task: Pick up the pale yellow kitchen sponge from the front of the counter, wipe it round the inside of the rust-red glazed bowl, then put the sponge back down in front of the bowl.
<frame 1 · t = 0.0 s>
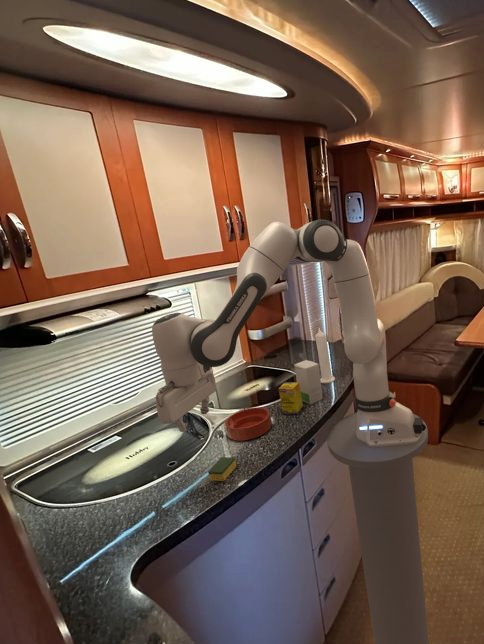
hand: (195, 421, 103), 19 cm above the worktop, tool pointing down, fingers open, 8 cm apart
sponge: (223, 473, 110), on the worktop
bowl: (250, 430, 133), on the worktop
supplement box: (293, 411, 144), on the worktop
candle: (327, 380, 169), on the worktop
cosmetic box: (311, 399, 152), on the worktop
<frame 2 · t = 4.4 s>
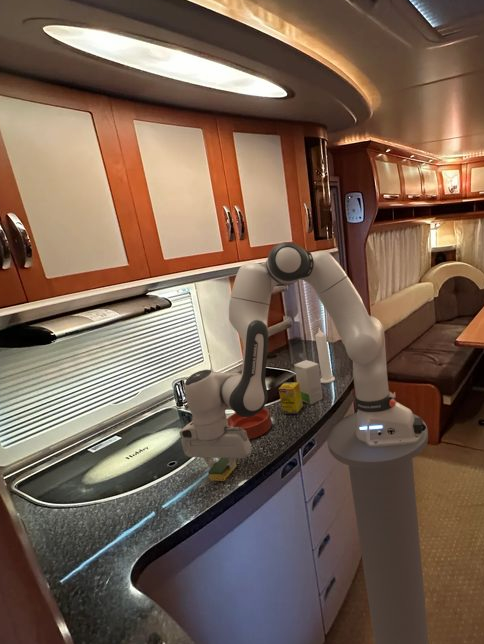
hand: (222, 468, 110), 2 cm above the worktop, tool pointing down, fingers closed on sponge, 4 cm apart
sponge: (223, 473, 110), on the worktop, touching gripper
everything else where it was.
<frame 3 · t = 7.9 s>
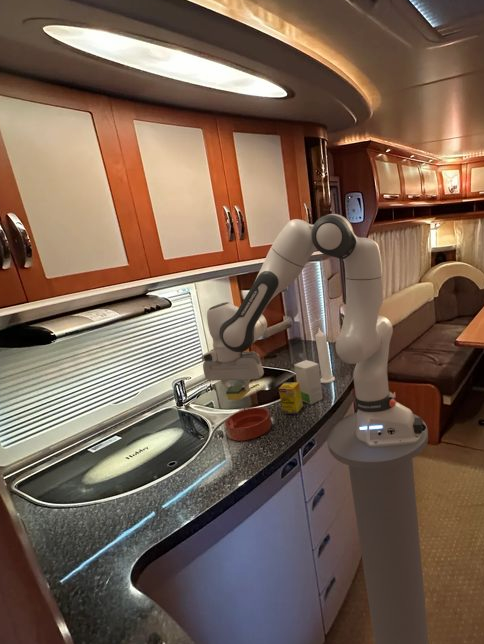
hand: (238, 390, 126), 16 cm above the worktop, tool pointing down, fingers closed on sponge, 4 cm apart
sponge: (239, 395, 127), point 15 cm above the worktop, touching gripper
everything else where it was.
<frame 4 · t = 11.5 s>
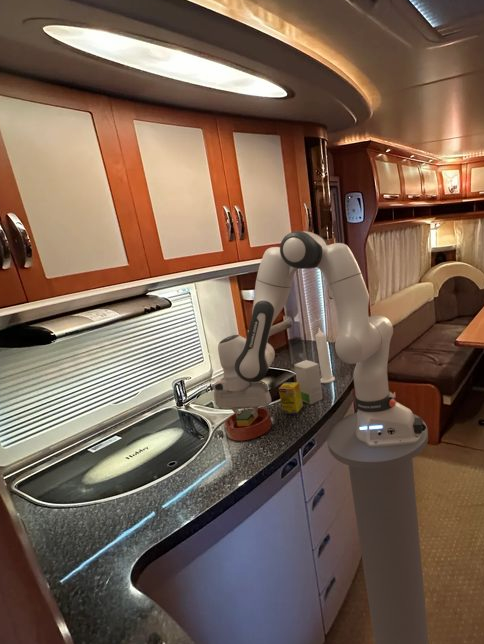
hand: (247, 417, 133), 5 cm above the worktop, tool pointing down, fingers closed on sponge, 4 cm apart
sponge: (248, 421, 134), point 3 cm above the worktop, touching gripper
everything else where it was.
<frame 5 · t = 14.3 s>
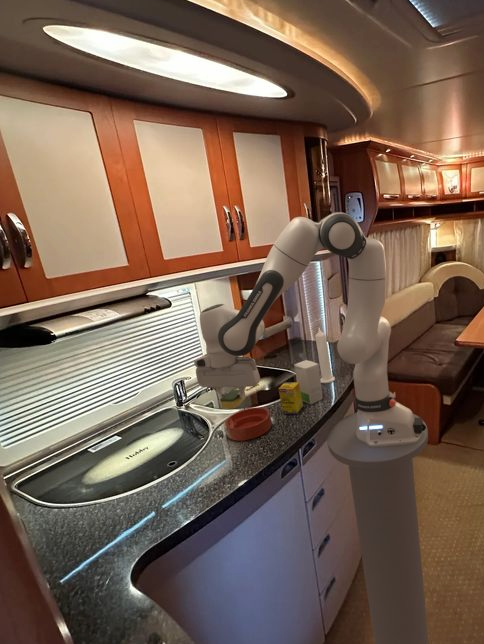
hand: (233, 398, 118), 17 cm above the worktop, tool pointing down, fingers closed on sponge, 4 cm apart
sponge: (234, 402, 119), point 16 cm above the worktop, touching gripper
everything else where it was.
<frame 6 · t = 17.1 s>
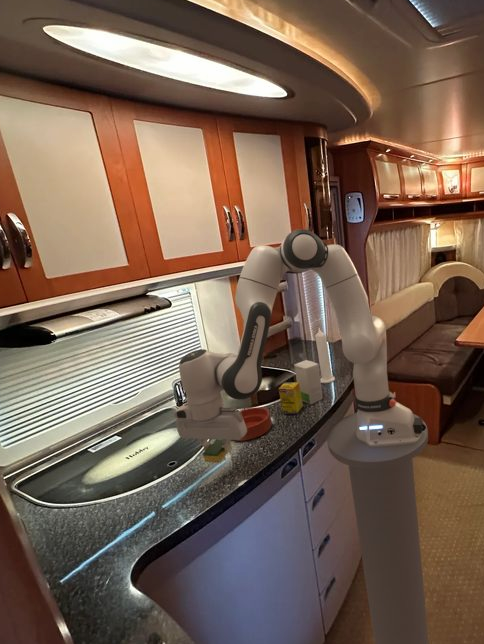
hand: (217, 450, 108), 8 cm above the worktop, tool pointing down, fingers closed on sponge, 4 cm apart
sponge: (218, 455, 108), point 6 cm above the worktop, touching gripper
everything else where it was.
when the fingers open (1 cm above the worktop, at t = 18.8 s): sponge stays where it is, on the worktop.
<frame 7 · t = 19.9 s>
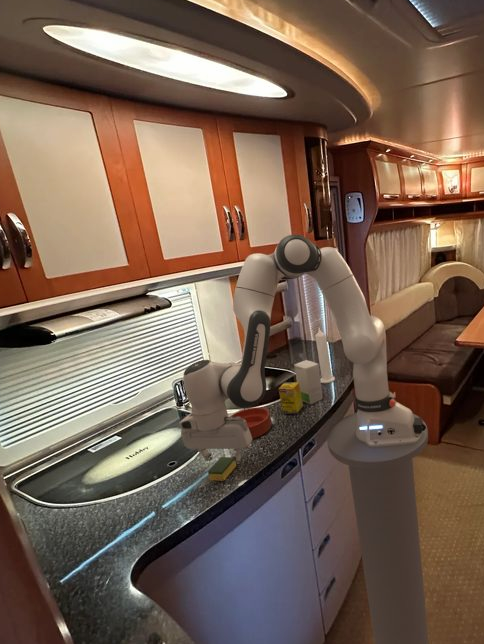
hand: (223, 459, 109), 4 cm above the worktop, tool pointing down, fingers open, 8 cm apart
sponge: (223, 472, 110), on the worktop
everything else where it was.
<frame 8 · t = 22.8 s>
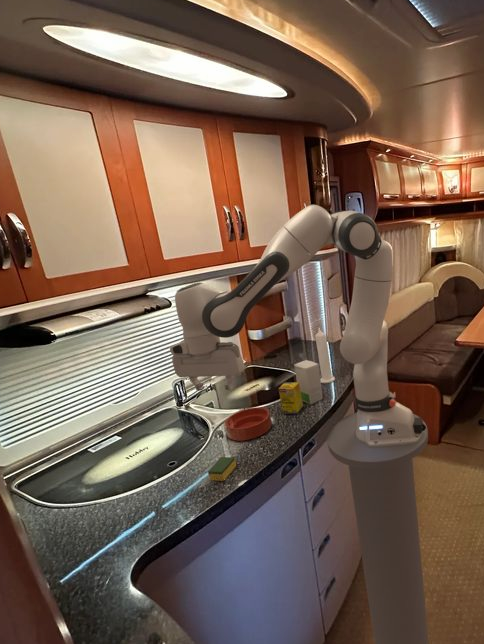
hand: (214, 389, 106), 25 cm above the worktop, tool pointing down, fingers open, 8 cm apart
nothing on the worktop moved.
at the end: sponge inside the target area on the worktop beside the bowl (0.1 cm from its centre), on the worktop; the gripper is holding nothing; sponge tilted 0° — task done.
